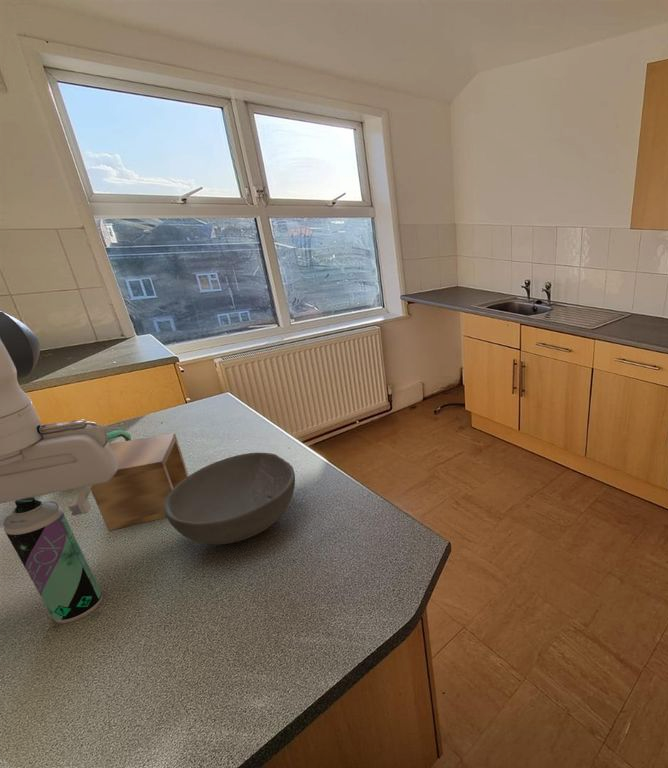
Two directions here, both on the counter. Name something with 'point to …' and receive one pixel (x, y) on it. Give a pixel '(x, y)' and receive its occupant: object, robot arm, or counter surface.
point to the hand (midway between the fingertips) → (37, 521)
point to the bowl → (231, 498)
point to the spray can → (53, 559)
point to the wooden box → (140, 480)
